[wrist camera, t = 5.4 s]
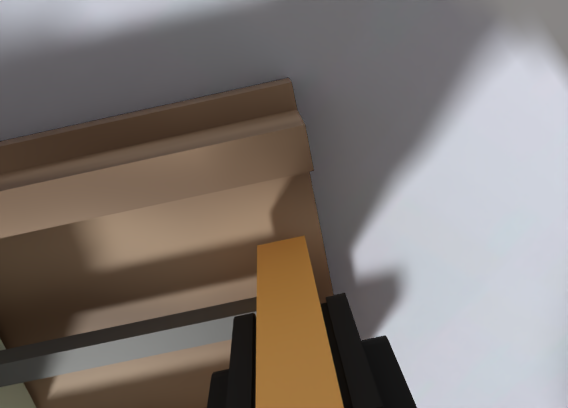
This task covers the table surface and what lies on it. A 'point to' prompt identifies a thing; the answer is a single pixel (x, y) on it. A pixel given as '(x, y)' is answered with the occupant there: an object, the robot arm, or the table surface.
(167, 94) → the table surface
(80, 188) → the shelf lane
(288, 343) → the lane block
